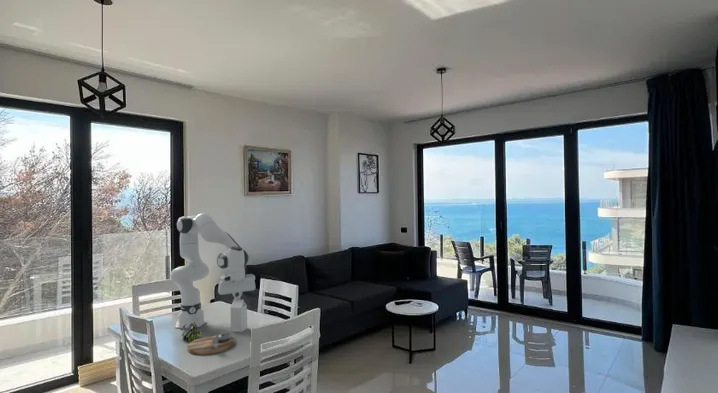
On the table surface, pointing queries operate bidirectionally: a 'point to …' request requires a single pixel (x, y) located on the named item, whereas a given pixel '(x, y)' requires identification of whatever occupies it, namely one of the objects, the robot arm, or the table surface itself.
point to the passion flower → (190, 329)
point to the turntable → (209, 345)
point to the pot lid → (223, 337)
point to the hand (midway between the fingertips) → (237, 300)
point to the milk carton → (238, 316)
